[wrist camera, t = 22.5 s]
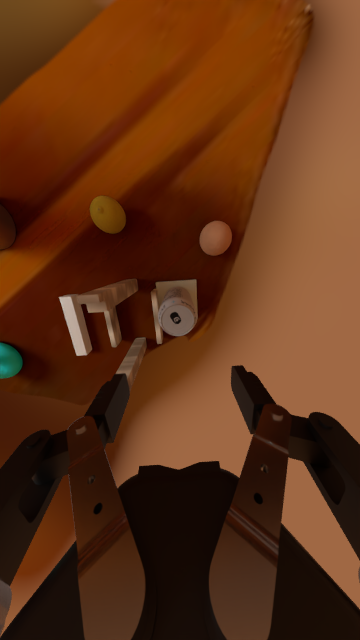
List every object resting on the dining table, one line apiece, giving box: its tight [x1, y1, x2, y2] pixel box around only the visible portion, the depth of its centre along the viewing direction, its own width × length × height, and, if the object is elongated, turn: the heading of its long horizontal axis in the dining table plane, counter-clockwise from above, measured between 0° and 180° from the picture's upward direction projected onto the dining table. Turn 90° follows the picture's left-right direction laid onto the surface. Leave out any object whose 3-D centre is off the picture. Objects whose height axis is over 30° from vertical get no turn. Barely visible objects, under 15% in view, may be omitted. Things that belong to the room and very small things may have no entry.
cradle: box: [77, 279, 163, 390], centre depth 31 cm, size 17×12×19 cm
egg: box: [200, 221, 232, 256], centre depth 31 cm, size 6×6×8 cm
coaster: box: [156, 279, 198, 318], centre depth 38 cm, size 9×9×1 cm
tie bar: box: [59, 294, 92, 356], centre depth 39 cm, size 14×2×3 cm, turn 3°
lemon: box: [90, 196, 126, 234], centre depth 30 cm, size 6×6×8 cm
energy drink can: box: [158, 286, 197, 336], centre depth 31 cm, size 6×6×15 cm
